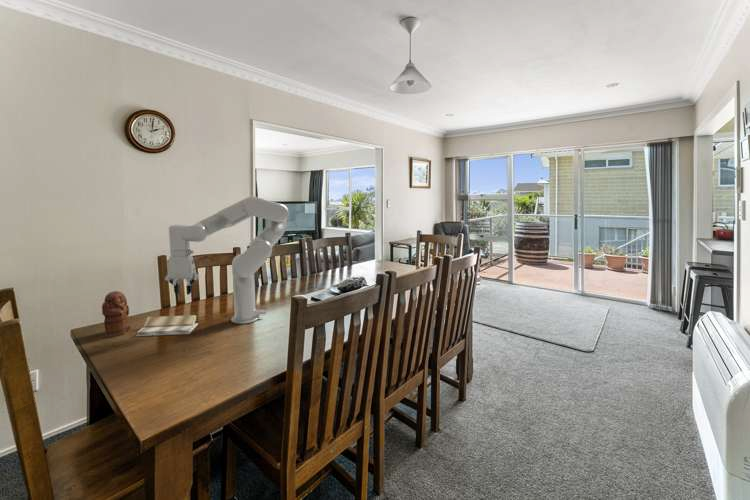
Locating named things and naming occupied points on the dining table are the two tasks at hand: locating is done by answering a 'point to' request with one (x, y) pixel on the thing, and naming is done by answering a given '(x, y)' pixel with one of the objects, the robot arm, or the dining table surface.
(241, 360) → the dining table surface
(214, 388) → the dining table surface
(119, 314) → the wooden figurine
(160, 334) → the underlay
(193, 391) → the dining table surface
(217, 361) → the dining table surface
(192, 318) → the plank
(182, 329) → the laid board
